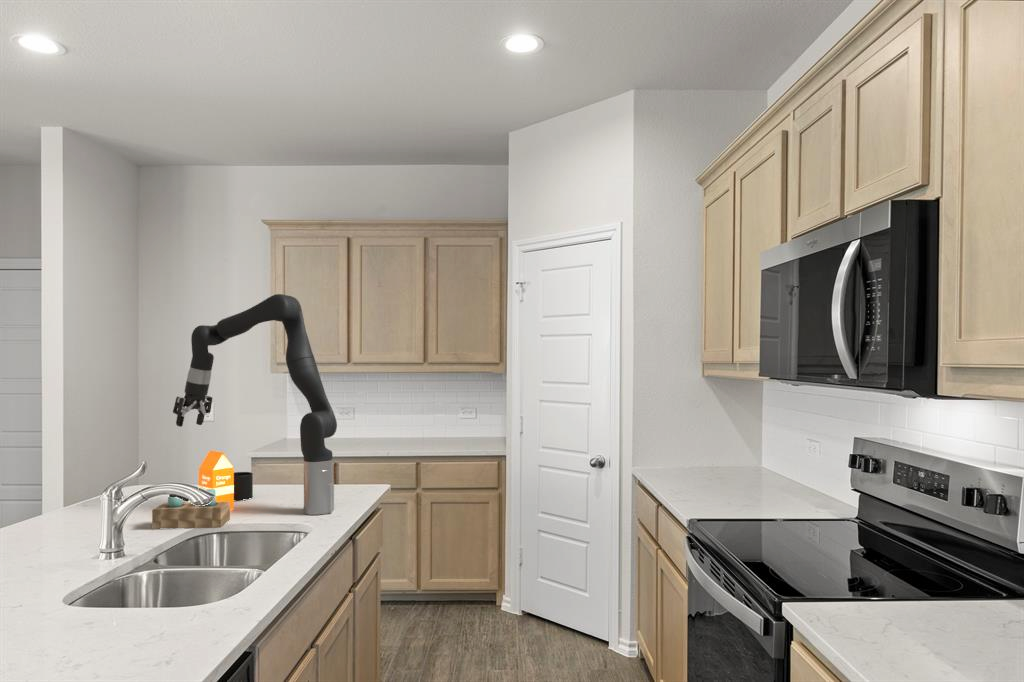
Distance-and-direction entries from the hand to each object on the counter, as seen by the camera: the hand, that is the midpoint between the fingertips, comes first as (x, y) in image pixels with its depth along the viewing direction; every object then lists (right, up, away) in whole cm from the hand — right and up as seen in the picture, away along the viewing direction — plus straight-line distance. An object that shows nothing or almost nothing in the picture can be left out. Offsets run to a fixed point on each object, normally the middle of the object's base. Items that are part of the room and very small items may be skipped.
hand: (189, 425), depth 249 cm
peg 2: (+20, -22, -31) cm, 44 cm away
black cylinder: (+15, -28, +9) cm, 33 cm away
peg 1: (+11, -22, -32) cm, 41 cm away
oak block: (+16, -27, -32) cm, 45 cm away
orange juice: (+15, -28, -12) cm, 34 cm away
